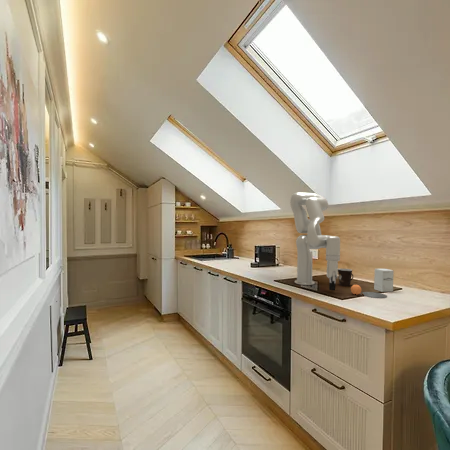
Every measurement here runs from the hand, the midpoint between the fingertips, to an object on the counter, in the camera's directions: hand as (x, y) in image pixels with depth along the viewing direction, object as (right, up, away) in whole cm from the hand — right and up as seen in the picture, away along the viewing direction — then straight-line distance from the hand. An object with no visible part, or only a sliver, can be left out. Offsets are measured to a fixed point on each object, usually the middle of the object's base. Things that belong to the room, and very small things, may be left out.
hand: (332, 289), depth 167 cm
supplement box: (+33, -2, +7) cm, 34 cm away
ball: (+12, +1, -4) cm, 13 cm away
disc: (+22, -2, -5) cm, 22 cm away
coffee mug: (+15, -2, +19) cm, 25 cm away
